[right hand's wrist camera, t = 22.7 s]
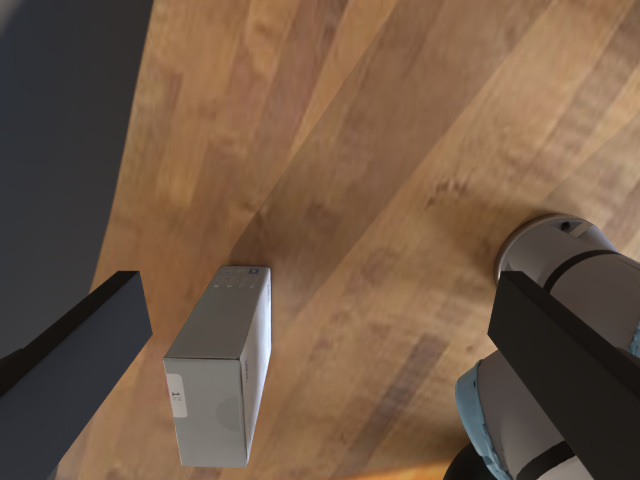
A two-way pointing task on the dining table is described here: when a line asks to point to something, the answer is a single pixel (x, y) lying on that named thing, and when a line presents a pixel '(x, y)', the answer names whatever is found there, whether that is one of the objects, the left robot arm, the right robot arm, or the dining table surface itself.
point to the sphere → (468, 466)
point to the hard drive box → (221, 368)
